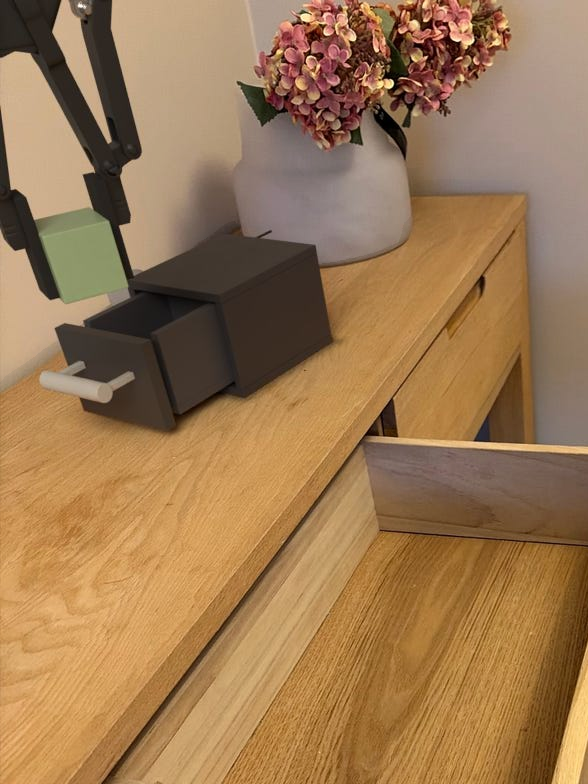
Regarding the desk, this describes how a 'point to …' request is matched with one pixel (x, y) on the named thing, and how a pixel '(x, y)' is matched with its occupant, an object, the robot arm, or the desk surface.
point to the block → (81, 254)
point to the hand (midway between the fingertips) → (86, 283)
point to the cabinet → (251, 301)
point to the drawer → (144, 359)
